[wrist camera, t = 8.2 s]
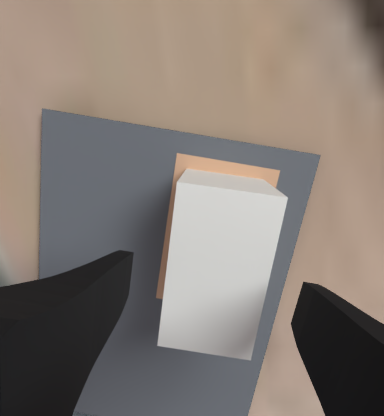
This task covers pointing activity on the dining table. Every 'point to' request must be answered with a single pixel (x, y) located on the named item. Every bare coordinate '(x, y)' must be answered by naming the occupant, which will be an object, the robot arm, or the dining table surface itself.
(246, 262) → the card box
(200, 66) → the dining table surface
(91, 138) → the mat
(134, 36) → the dining table surface
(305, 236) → the dining table surface
